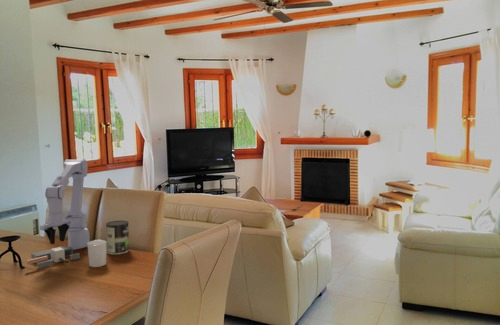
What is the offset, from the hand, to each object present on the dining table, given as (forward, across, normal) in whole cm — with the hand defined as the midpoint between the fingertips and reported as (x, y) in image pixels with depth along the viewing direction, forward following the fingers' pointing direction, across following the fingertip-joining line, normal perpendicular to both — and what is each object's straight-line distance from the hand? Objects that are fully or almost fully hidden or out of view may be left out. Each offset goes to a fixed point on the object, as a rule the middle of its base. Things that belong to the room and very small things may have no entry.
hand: (57, 242), depth 179 cm
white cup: (+9, -5, +20) cm, 22 cm away
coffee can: (+9, -23, +14) cm, 28 cm away
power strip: (+8, 0, -2) cm, 9 cm away
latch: (+5, +11, +1) cm, 12 cm away
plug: (+8, +1, +3) cm, 9 cm away
